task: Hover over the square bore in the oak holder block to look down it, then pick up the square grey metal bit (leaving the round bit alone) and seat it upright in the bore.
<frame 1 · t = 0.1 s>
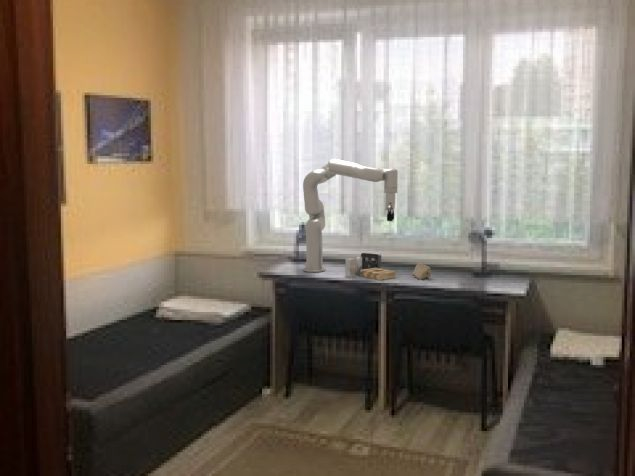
hand: (390, 220, 395), 31 cm above the table, tool pointing down, fingers open, 9 cm apart
round bit: (358, 274, 397), on the table
square bit: (350, 276, 391), on the table
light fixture: (373, 270, 409), on the table
bore block: (377, 276, 389), on the table
decorative stone: (420, 278, 386), on the table
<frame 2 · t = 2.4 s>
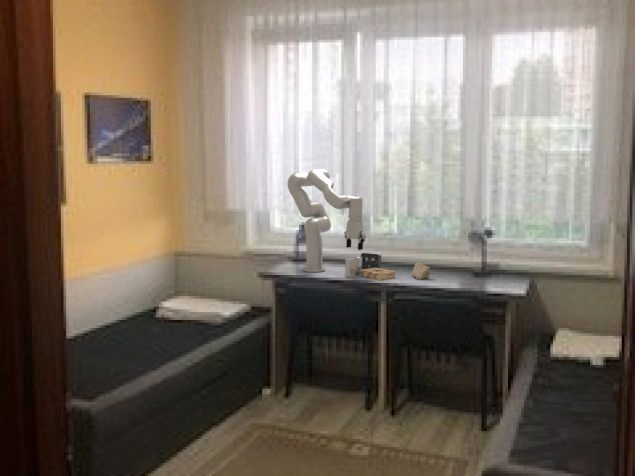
hand: (354, 248, 388), 16 cm above the table, tool pointing down, fingers open, 9 cm apart
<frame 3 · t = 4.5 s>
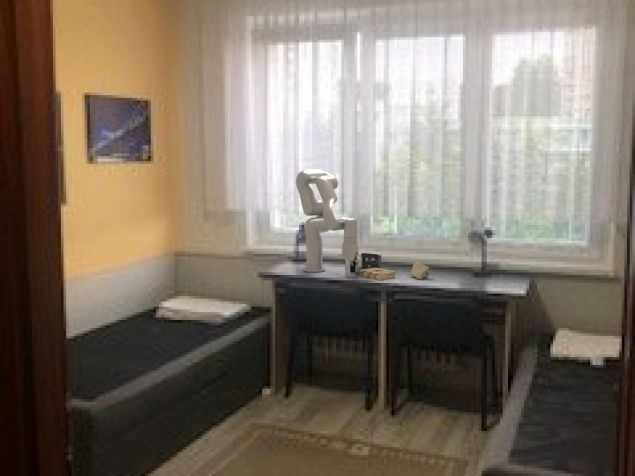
hand: (350, 271, 390), 3 cm above the table, tool pointing down, fingers closed on square bit, 4 cm apart
square bit: (350, 276, 391), on the table, touching gripper
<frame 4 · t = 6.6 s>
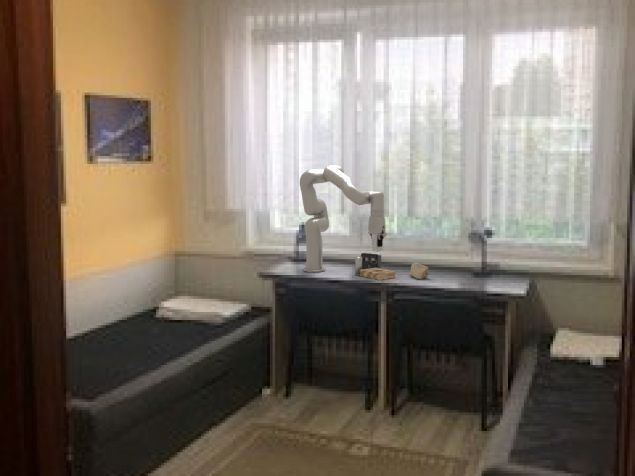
hand: (377, 245, 386), 18 cm above the table, tool pointing down, fingers closed on square bit, 4 cm apart
square bit: (377, 250, 387), point 15 cm above the table, touching gripper
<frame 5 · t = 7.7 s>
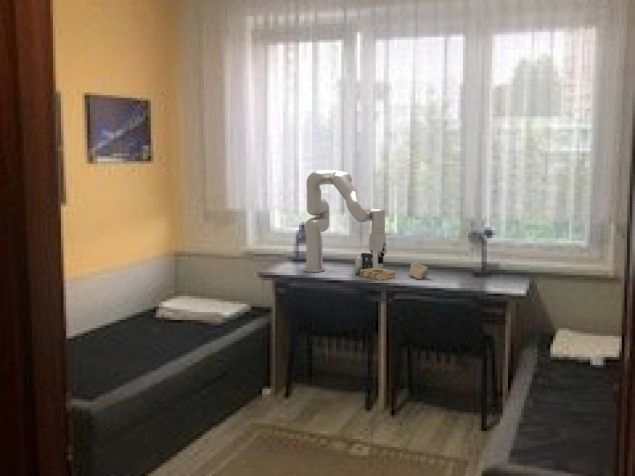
hand: (377, 262, 388), 8 cm above the table, tool pointing down, fingers closed on square bit, 4 cm apart
square bit: (377, 267, 388), point 5 cm above the table, touching gripper
when the fingers open (4 cm above the table, at t = 8.7 s): square bit drops 1 cm, resting in bore block.
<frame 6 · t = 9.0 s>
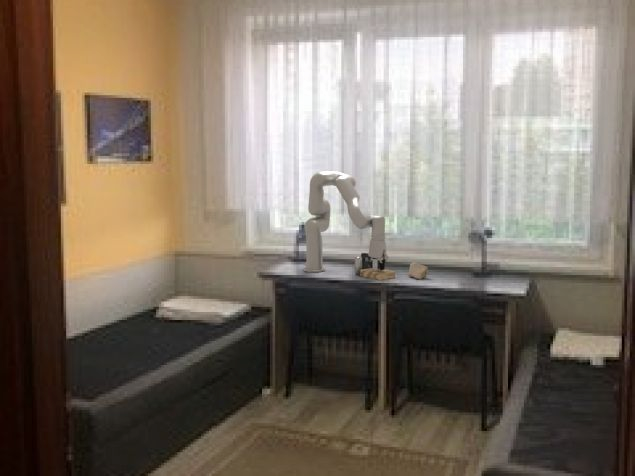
hand: (377, 268, 388), 5 cm above the table, tool pointing down, fingers open, 6 cm apart
square bit: (377, 276, 389), resting in bore block
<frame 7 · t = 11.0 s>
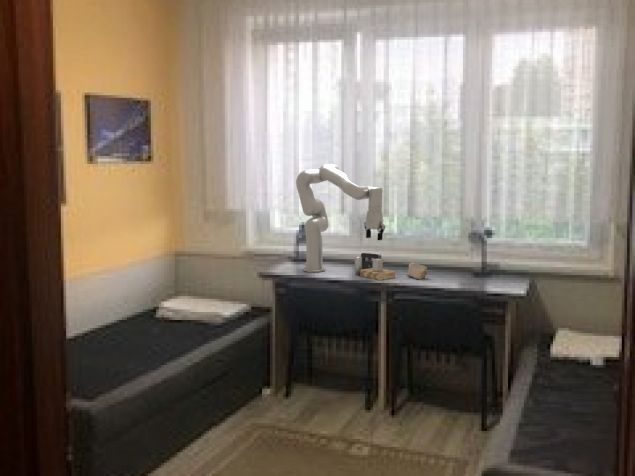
hand: (374, 238, 389), 21 cm above the table, tool pointing down, fingers open, 9 cm apart
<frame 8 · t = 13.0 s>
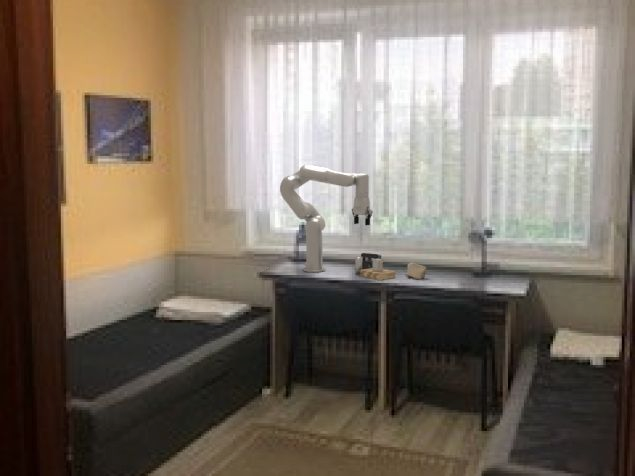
hand: (361, 224, 399), 28 cm above the table, tool pointing down, fingers open, 9 cm apart
at the end: square bit 0.1 cm off-centre on the bore block, point 0.0 cm above the bore block's base; square bit tilted 0°; round bit moved 0.1 cm from its start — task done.
